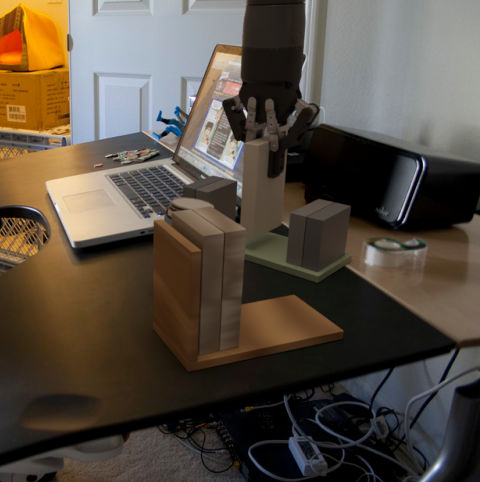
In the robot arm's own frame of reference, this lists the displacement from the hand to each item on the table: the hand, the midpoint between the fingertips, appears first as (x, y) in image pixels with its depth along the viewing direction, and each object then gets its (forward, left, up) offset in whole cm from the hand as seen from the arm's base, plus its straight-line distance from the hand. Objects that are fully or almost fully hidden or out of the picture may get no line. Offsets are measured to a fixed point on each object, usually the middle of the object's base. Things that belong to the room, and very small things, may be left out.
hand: (264, 174), depth 86 cm
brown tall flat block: (0, 0, -8) cm, 8 cm away
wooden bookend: (-12, +21, -11) cm, 27 cm away
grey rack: (0, 0, -11) cm, 11 cm away
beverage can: (-1, +18, -11) cm, 21 cm away
